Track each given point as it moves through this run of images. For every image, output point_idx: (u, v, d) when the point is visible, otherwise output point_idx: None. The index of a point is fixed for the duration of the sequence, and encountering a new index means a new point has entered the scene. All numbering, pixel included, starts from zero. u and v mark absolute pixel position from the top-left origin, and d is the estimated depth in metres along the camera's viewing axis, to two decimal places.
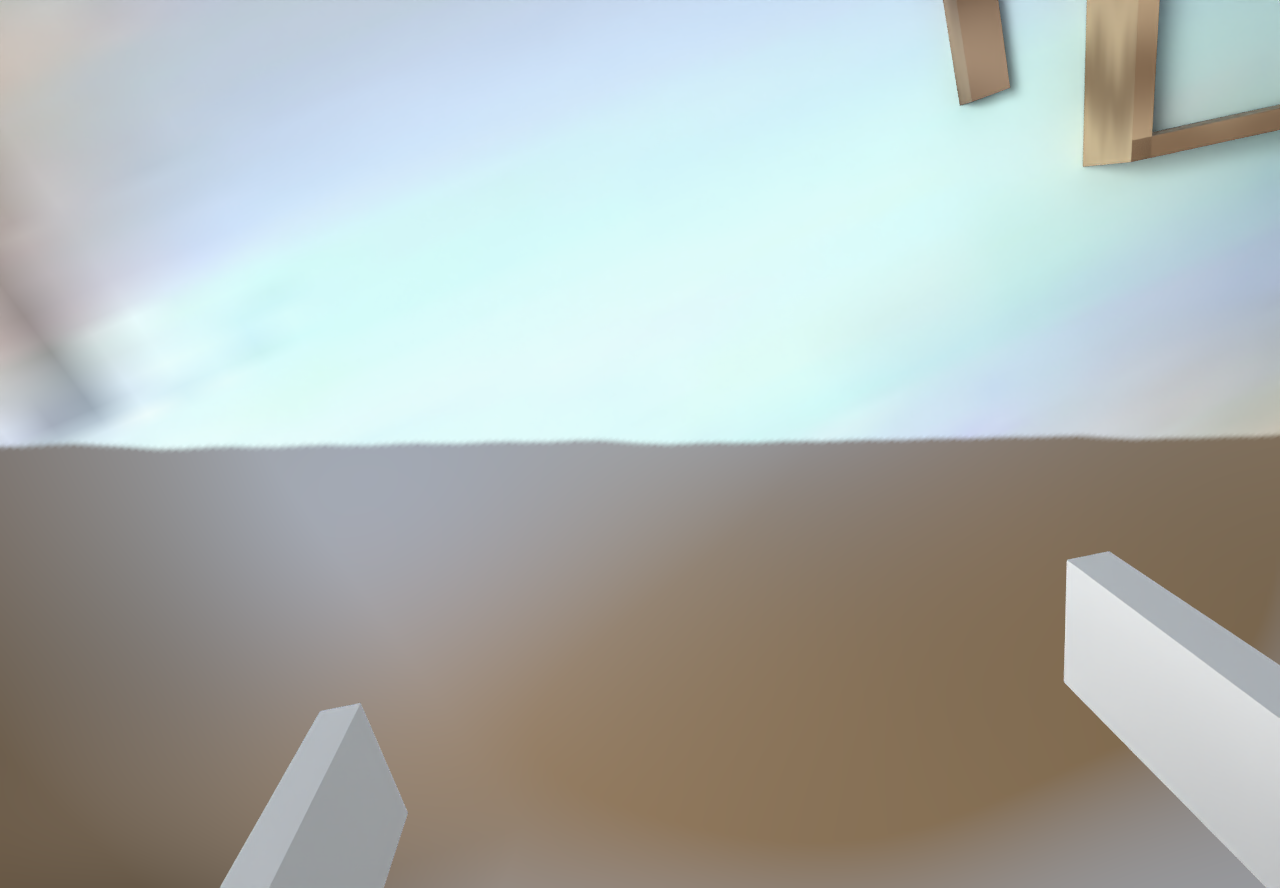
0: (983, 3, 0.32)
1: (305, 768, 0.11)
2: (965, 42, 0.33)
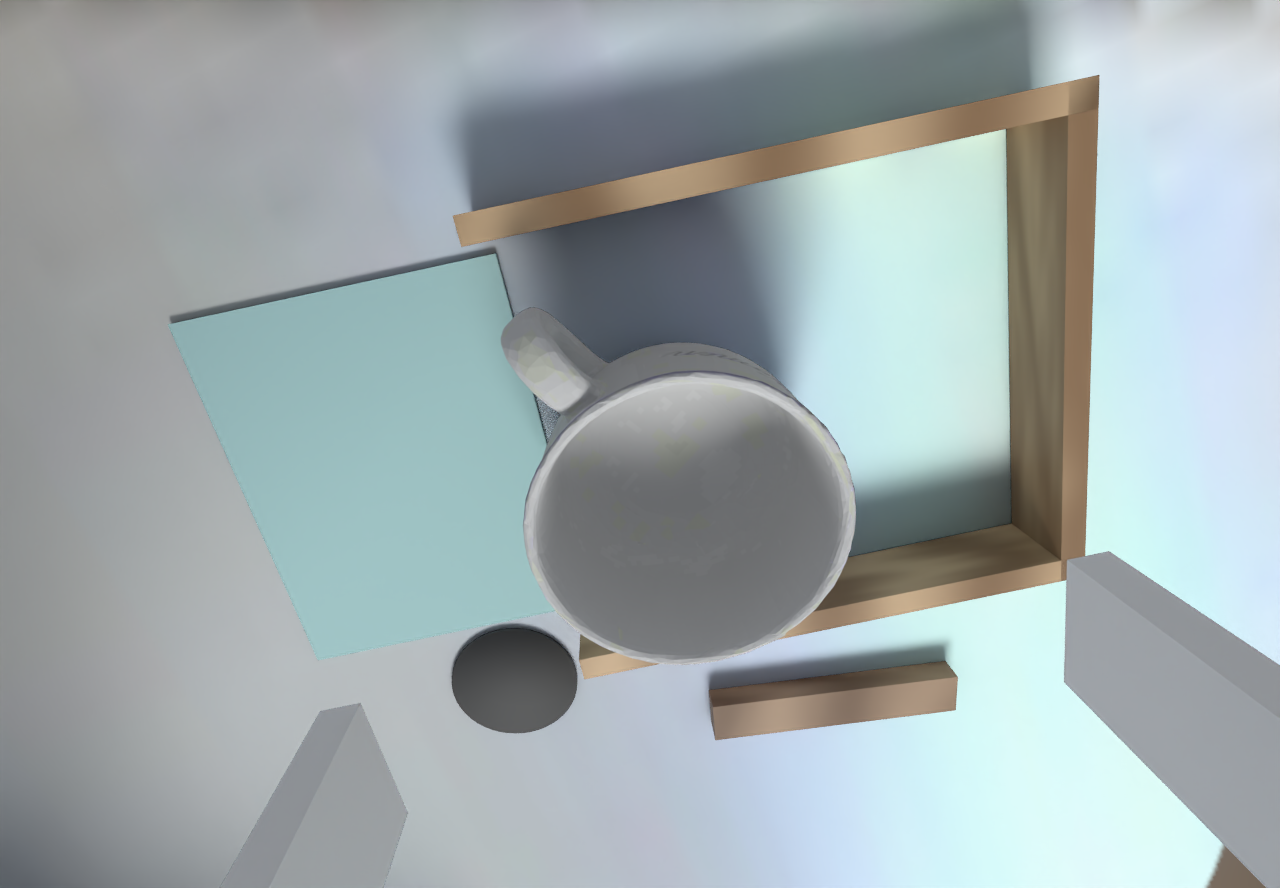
0: (872, 698, 0.32)
1: (305, 768, 0.11)
2: (900, 714, 0.32)
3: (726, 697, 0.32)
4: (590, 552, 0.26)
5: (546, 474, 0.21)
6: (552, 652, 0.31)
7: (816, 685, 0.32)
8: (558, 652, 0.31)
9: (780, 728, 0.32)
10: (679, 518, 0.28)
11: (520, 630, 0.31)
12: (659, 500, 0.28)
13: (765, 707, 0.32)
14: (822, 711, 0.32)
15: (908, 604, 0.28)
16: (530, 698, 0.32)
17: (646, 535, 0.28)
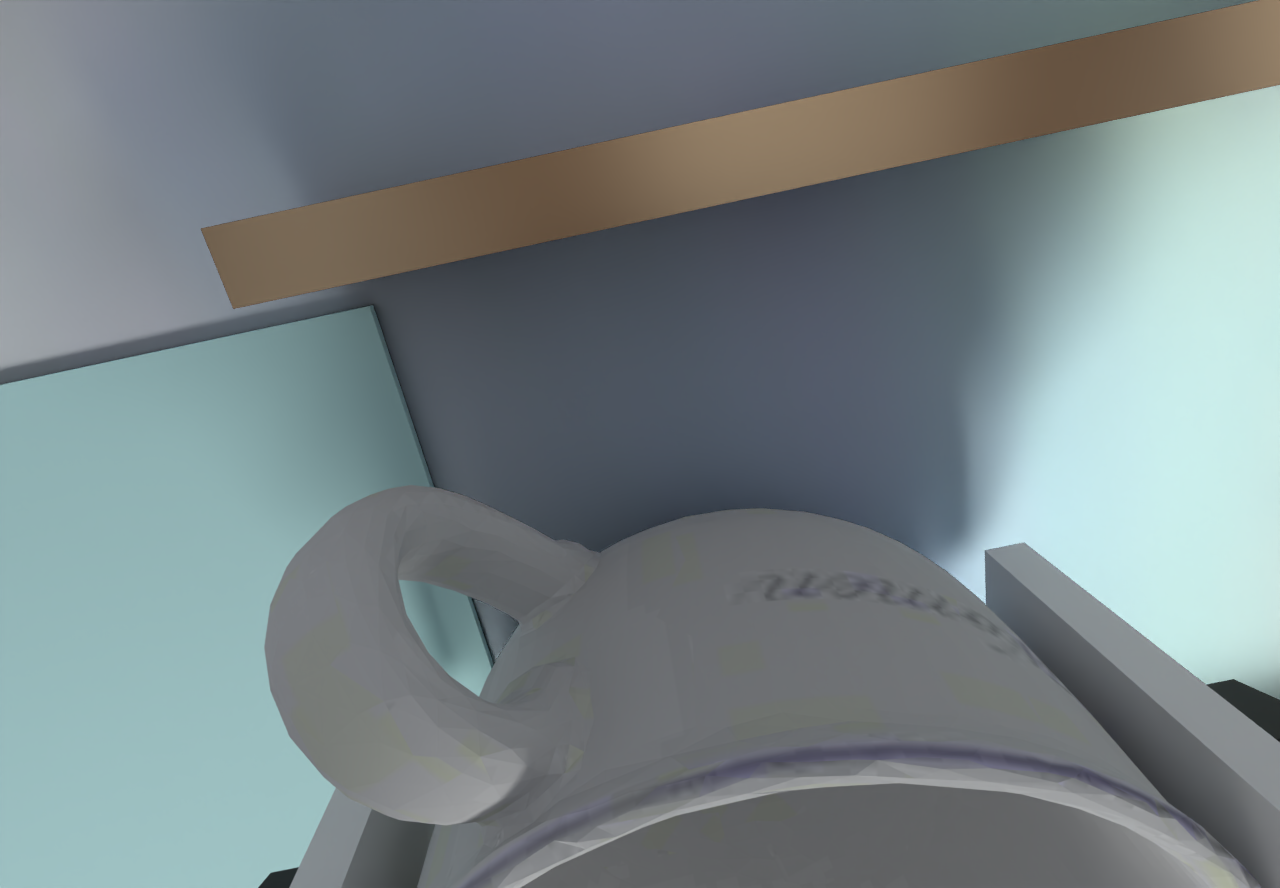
0: None
1: None
2: None
3: None
4: None
5: None
6: None
7: None
8: None
9: None
10: None
11: None
12: None
13: None
14: None
15: None
16: None
17: (674, 835, 0.15)
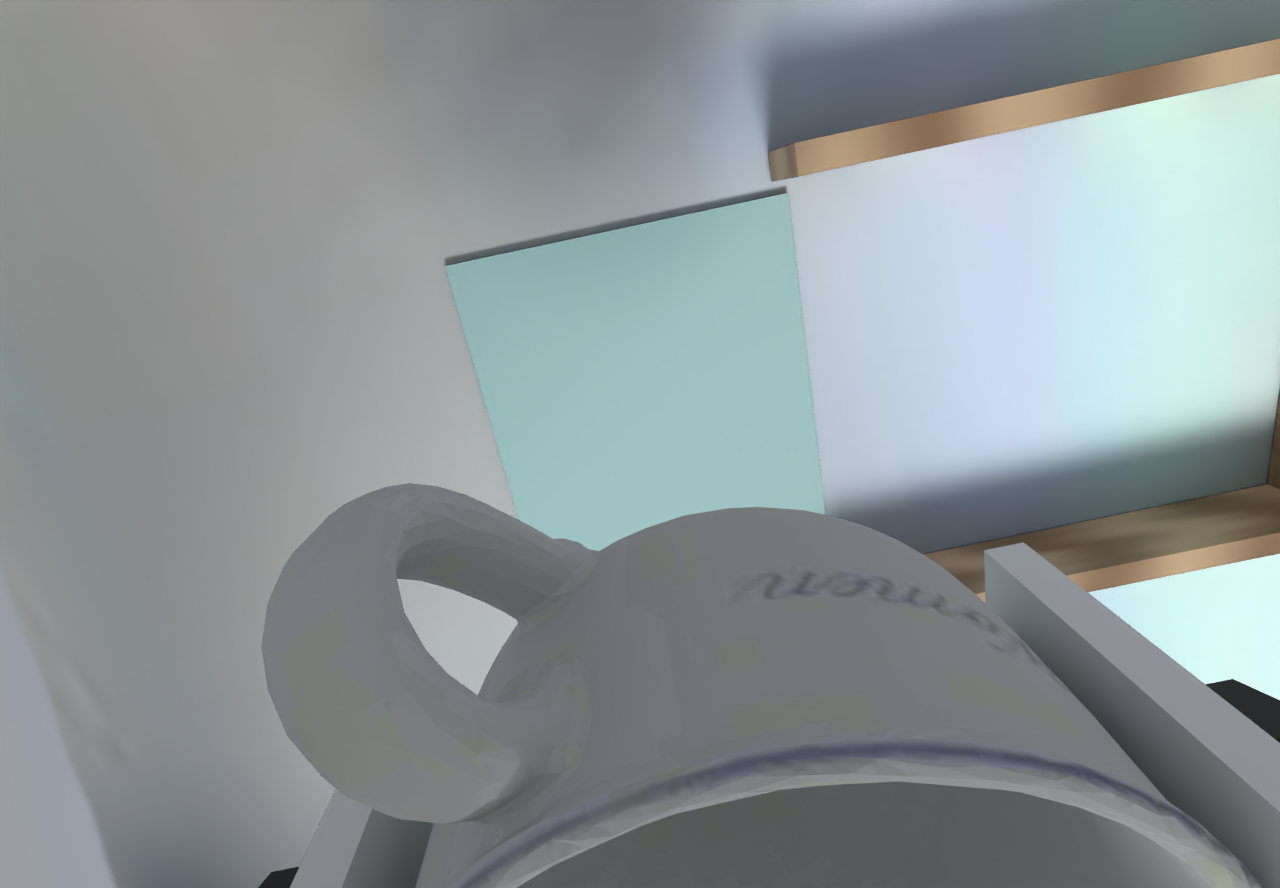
0: None
1: None
2: None
3: None
4: None
5: None
6: None
7: None
8: None
9: None
10: (735, 799, 0.15)
11: None
12: None
13: None
14: None
15: (1189, 563, 0.27)
16: None
17: (673, 834, 0.15)
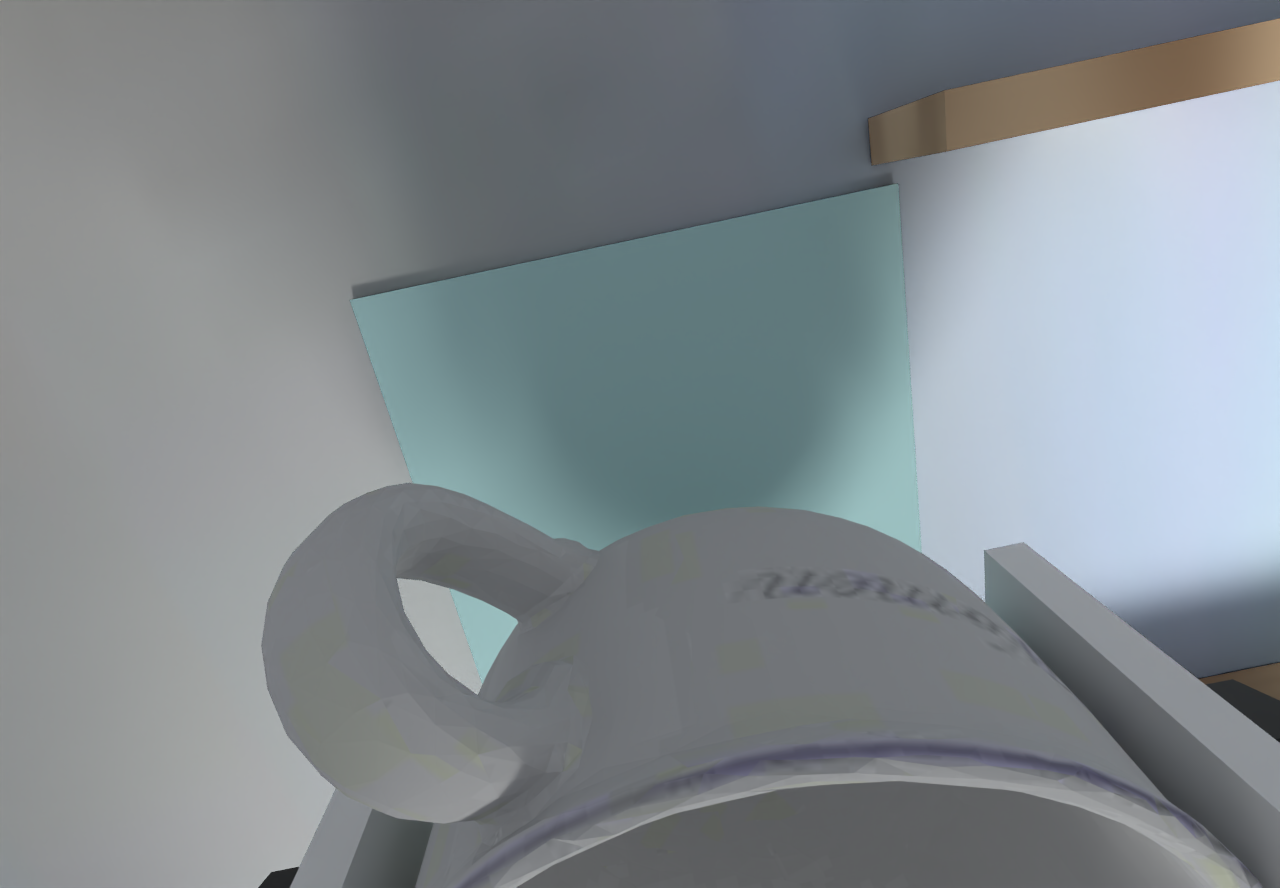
0: None
1: None
2: None
3: None
4: None
5: None
6: None
7: None
8: None
9: None
10: (735, 799, 0.15)
11: None
12: None
13: None
14: None
15: None
16: None
17: (673, 834, 0.15)
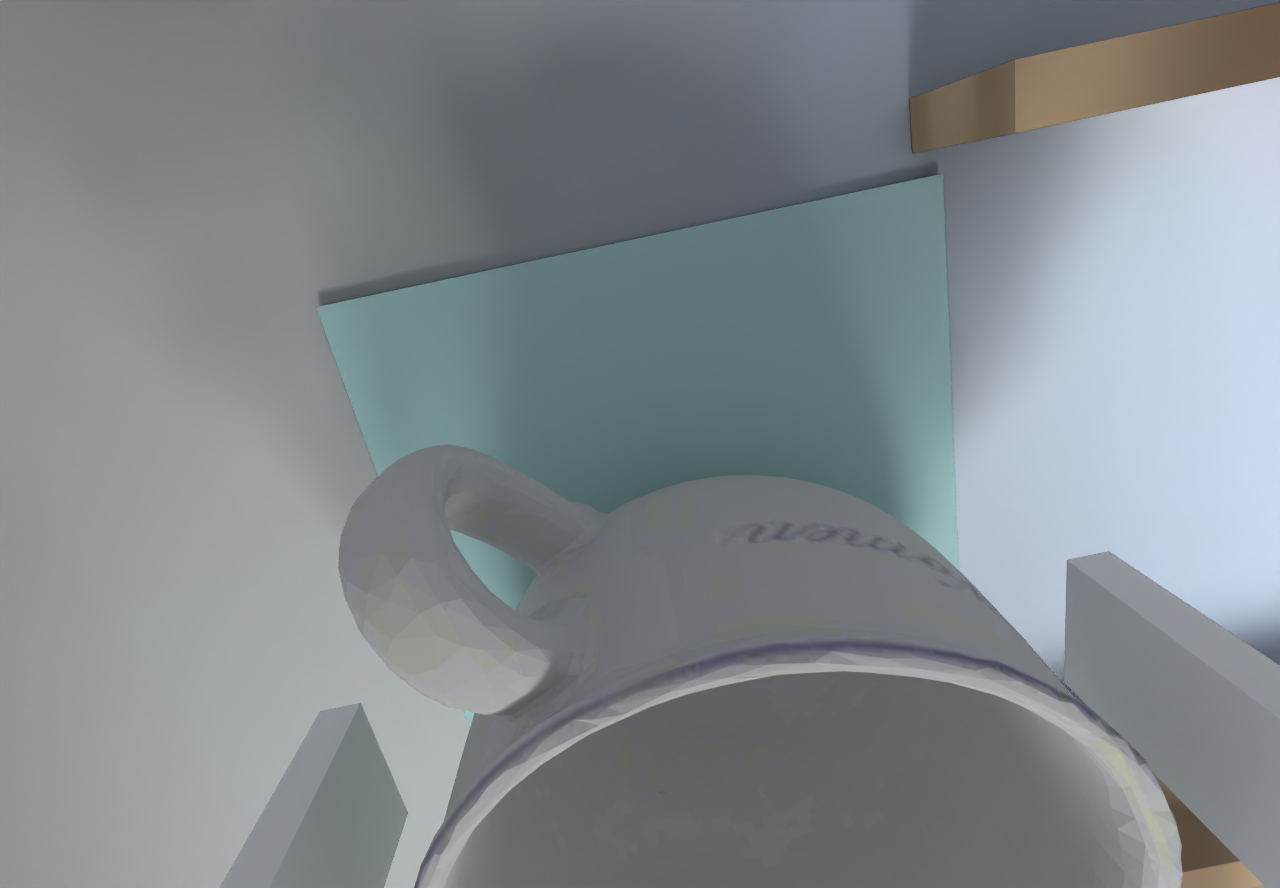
0: None
1: (305, 768, 0.11)
2: None
3: None
4: (575, 840, 0.14)
5: (455, 856, 0.09)
6: None
7: None
8: None
9: None
10: (728, 746, 0.17)
11: None
12: (695, 719, 0.16)
13: None
14: None
15: None
16: None
17: (673, 777, 0.16)
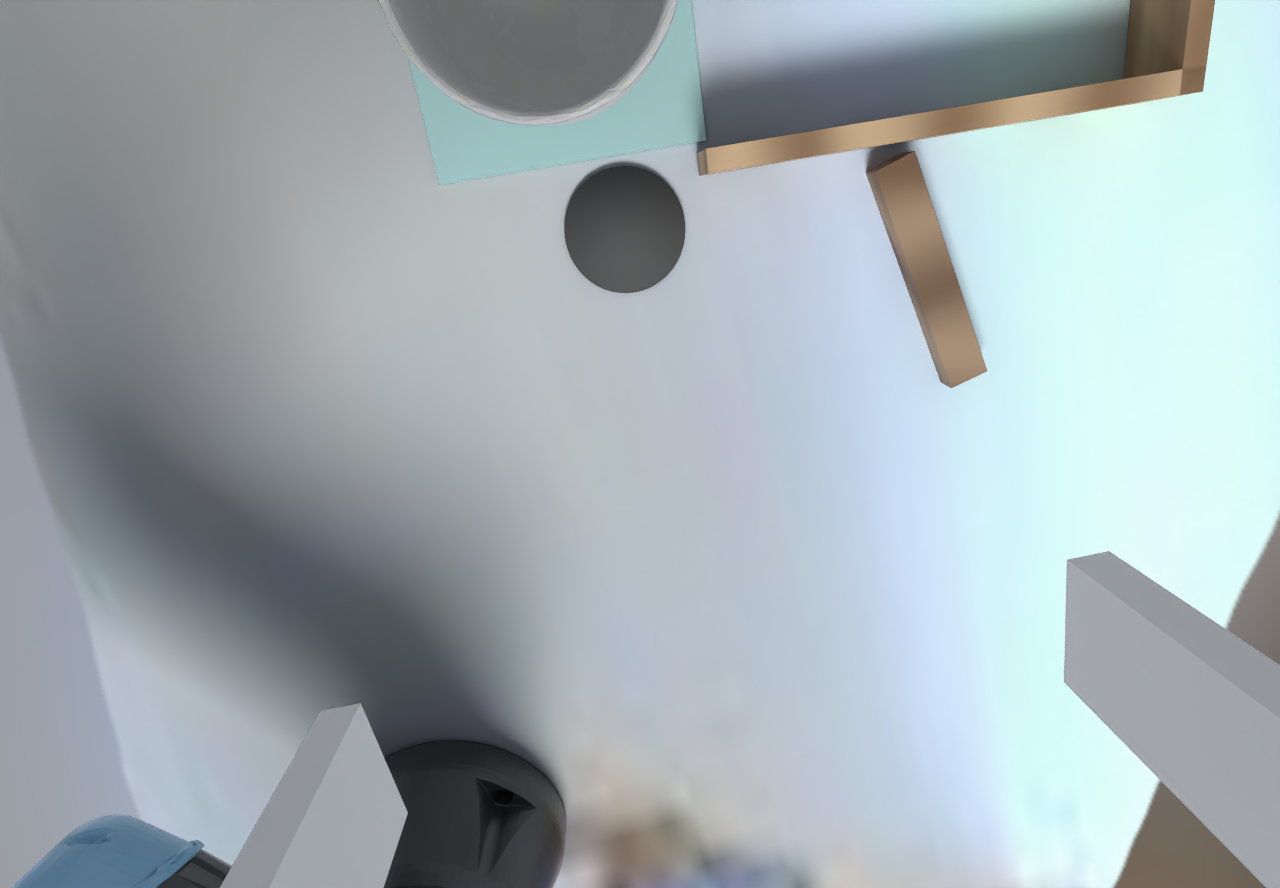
0: (950, 307, 0.34)
1: (305, 768, 0.11)
2: (937, 341, 0.34)
3: None
4: (459, 72, 0.27)
5: None
6: (664, 196, 0.32)
7: None
8: (670, 197, 0.32)
9: (901, 233, 0.32)
10: (555, 74, 0.29)
11: None
12: (536, 52, 0.29)
13: (923, 206, 0.32)
14: (928, 265, 0.33)
15: (1029, 110, 0.28)
16: (638, 251, 0.33)
17: (522, 87, 0.29)
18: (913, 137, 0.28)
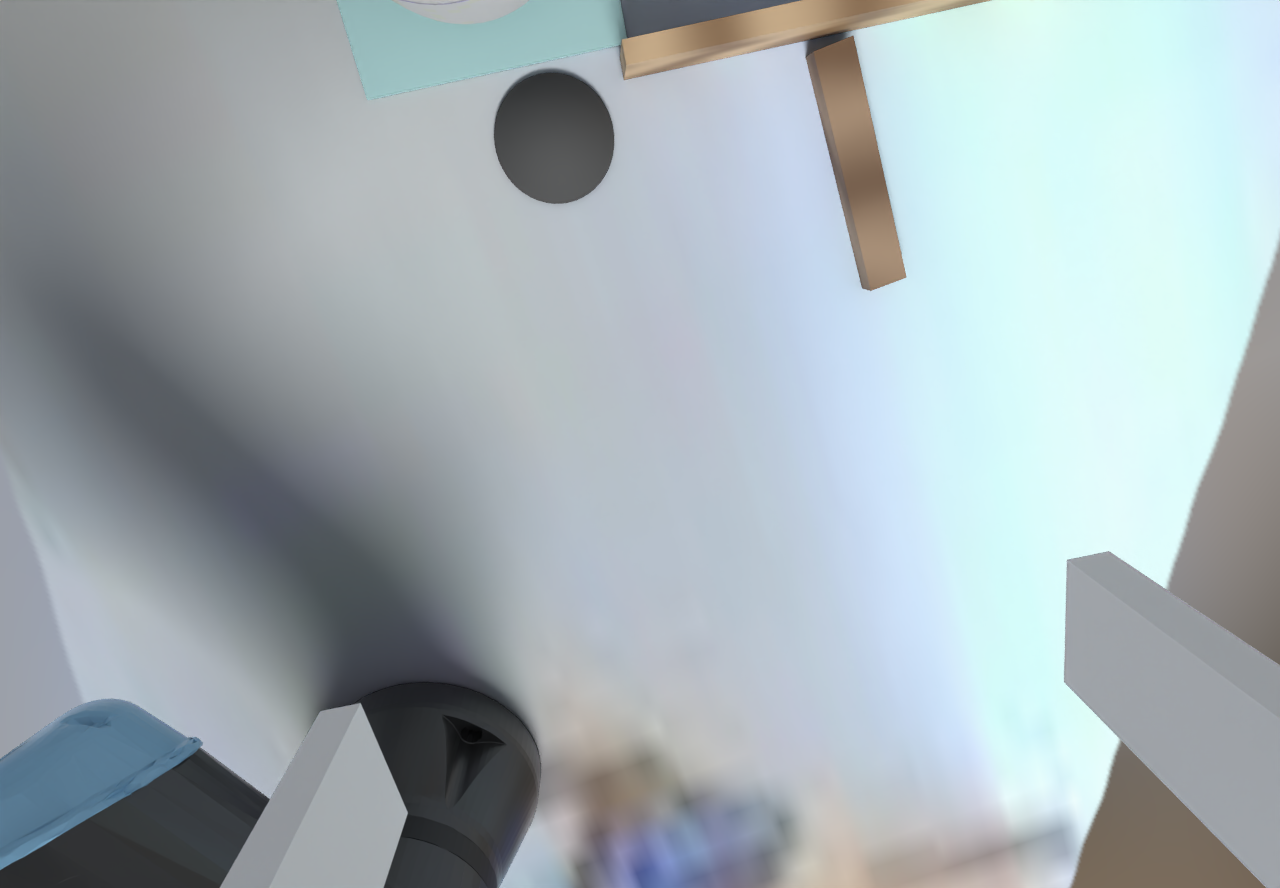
0: (876, 205, 0.34)
1: (305, 768, 0.11)
2: (861, 239, 0.34)
3: None
4: None
5: None
6: (591, 102, 0.33)
7: None
8: (597, 103, 0.33)
9: (834, 120, 0.33)
10: None
11: (561, 74, 0.32)
12: None
13: (857, 95, 0.32)
14: (858, 158, 0.33)
15: None
16: (569, 159, 0.33)
17: None
18: (825, 19, 0.29)
